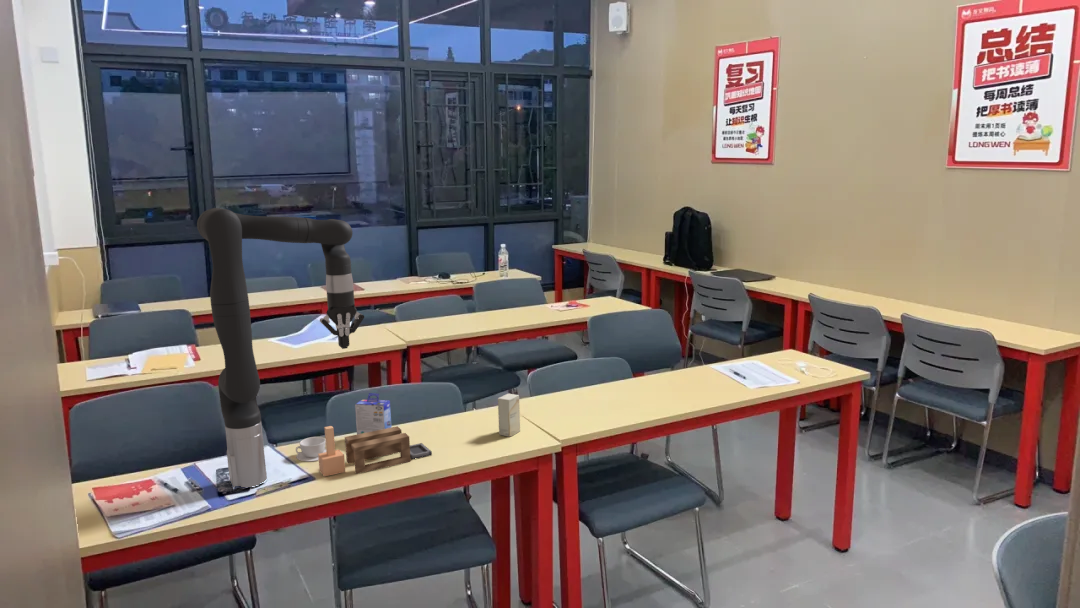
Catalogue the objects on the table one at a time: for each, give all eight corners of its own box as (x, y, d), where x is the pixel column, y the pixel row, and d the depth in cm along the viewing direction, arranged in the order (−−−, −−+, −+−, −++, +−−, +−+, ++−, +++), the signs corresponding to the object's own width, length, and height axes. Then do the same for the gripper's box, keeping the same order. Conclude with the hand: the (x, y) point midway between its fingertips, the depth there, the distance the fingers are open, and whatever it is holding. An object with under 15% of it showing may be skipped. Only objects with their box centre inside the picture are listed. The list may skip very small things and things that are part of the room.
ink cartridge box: (393, 436, 244) (390, 392, 241) (386, 443, 238) (383, 398, 235) (364, 434, 246) (361, 391, 243) (356, 441, 240) (353, 397, 237)
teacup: (326, 447, 236) (325, 432, 235) (334, 458, 228) (333, 443, 227) (293, 454, 231) (291, 439, 231) (300, 465, 223) (299, 450, 222)
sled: (324, 476, 213) (320, 432, 211) (319, 470, 218) (315, 426, 215) (345, 471, 216) (342, 428, 214) (340, 465, 221) (337, 422, 218)
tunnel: (356, 473, 216) (354, 447, 214) (346, 461, 224) (344, 437, 223) (410, 461, 223) (409, 436, 222) (398, 450, 232) (397, 426, 230)
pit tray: (412, 459, 225) (412, 455, 224) (403, 450, 232) (402, 447, 231) (431, 455, 228) (431, 451, 227) (421, 446, 234) (421, 442, 234)
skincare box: (510, 437, 240) (508, 400, 238) (498, 435, 243) (497, 398, 240) (520, 431, 246) (519, 394, 243) (509, 428, 248) (508, 392, 246)
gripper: (320, 293, 213) (324, 354, 216) (366, 288, 219) (370, 347, 223) (313, 290, 219) (318, 348, 223) (358, 285, 226) (362, 342, 229)
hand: (344, 347), depth 223 cm, fingers closed
